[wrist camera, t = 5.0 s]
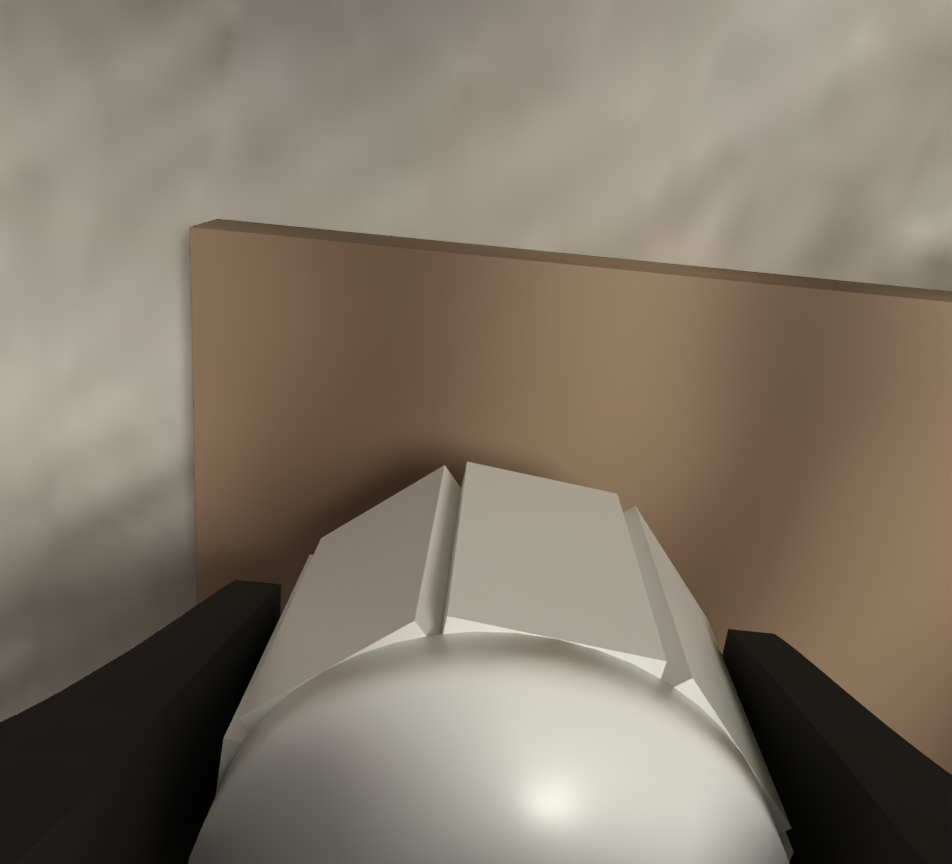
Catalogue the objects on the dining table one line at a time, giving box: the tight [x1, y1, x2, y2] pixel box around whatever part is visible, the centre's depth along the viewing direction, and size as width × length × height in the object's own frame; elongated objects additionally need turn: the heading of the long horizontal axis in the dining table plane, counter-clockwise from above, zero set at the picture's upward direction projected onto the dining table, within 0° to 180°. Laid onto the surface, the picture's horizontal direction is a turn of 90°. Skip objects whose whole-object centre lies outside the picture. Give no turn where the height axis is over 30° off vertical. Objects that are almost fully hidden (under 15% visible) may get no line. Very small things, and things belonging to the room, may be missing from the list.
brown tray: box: [190, 219, 952, 775], centre depth 14 cm, size 16×18×4 cm
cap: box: [188, 462, 793, 864], centre depth 10 cm, size 6×6×4 cm
